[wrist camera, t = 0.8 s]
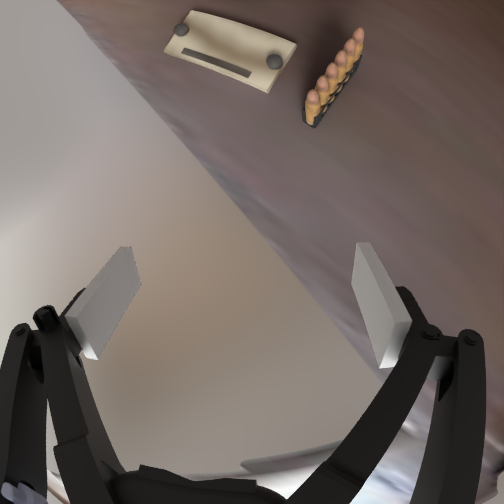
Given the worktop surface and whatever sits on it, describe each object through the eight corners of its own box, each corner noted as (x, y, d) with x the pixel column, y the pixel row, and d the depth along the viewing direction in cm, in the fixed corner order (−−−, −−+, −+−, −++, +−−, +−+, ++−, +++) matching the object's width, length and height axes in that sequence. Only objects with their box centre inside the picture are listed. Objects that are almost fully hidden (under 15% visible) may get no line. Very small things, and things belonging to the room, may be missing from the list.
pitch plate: (194, 13, 33) (189, 7, 31) (296, 47, 32) (295, 40, 30) (167, 54, 35) (160, 49, 33) (268, 93, 34) (265, 88, 32)
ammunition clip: (314, 129, 34) (316, 104, 23) (302, 121, 34) (298, 93, 23) (357, 69, 31) (373, 27, 20) (345, 61, 31) (356, 17, 20)
